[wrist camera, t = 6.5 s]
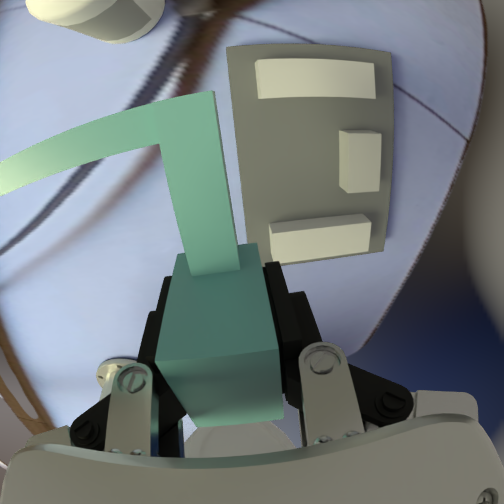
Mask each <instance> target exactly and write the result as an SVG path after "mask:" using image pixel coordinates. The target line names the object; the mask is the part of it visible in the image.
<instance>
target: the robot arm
mask: <svg viewBox="0 0 504 504" xmlns="http://www.w3.org/2000/svg"><path fill="white" fill-rule="evenodd" d="M262 269H263V274H264V279H265V284H266V289H267V293H268V298H269V303H270V308H271V313H272V318H273V323H274V328H275V333H276V338H277V343H278V348H279V359H280V372H281V385H282V394H283V393H285V398H286V401H288V404H290V405H292V406H293V407H295V408H297V409H298V416H299V425H300V436H301V446H302V448H296V449H290V450H284V451H277V452H270V453H262V454H253V455H243V456H230V457H210V458H185V452H184V437H183V421H182V418H183V417H184V416H185V415H186V414H187V412H186V411H185V409H184V408H183V406H182V405H181V403H180V402H179V400H178V399H177V397H176V396H175V394H174V393H173V391H172V389H171V388H170V386H169V385H168V383H167V381H166V380H165V378H164V376H163V375H162V373H161V371H160V370H159V368H158V366H157V365H156V363H155V356H156V351H157V345H158V340H159V335H160V330H161V325H162V320H163V315H164V310H165V306H166V301H167V297H168V292H169V288H170V283H171V279H172V276H166V277H165V278H164V281H163V285H162V288H161V292H160V296H159V300H158V304H157V308H156V311H151V312H149V315H148V318H147V322H146V326H145V330H144V334H143V338H142V342H141V346H140V350H139V354H138V359H137V361H135V360H129V359H111V360H107V361H105V362H103V363H101V365H100V366H99V367H98V370H97V373H96V378H97V381H98V383H99V385H100V386H101V387H102V392H101V396H100V400H99V402H98V403H96V404H95V405H94V406H92V407H91V408H90V409H88V410H87V411H86V412H84V413H83V414H81V415H80V416H79V417H77V418H76V419H75V420H74V421H73V423H72V425H71V427H69V426H67V425H66V426H63V427H60V428H57V429H54V430H51V431H48V432H44V433H41V434H38V435H35V436H32V437H31V438H29V440H28V441H27V443H26V445H25V448H22V449H20V450H19V451H17V452H16V453H15V454H14V455H13V457H12V458H11V460H10V462H9V465H8V468H7V471H6V474H5V478H4V482H3V487H2V492H1V498H0V504H504V468H503V465H502V463H501V461H500V458H499V456H498V454H497V452H496V449H495V447H494V446H493V444H492V442H491V440H490V438H489V437H488V435H487V434H486V432H485V431H484V429H483V428H482V427H481V425H480V424H479V423H478V407H477V402H476V400H475V399H474V397H473V396H471V395H470V394H468V393H464V392H440V391H423V390H418V391H417V392H416V393H414V392H409V391H408V389H407V388H405V387H403V386H401V385H399V384H396V383H394V382H392V381H389V380H387V379H384V378H382V377H379V376H377V375H374V374H372V373H370V372H367V371H365V370H362V369H360V368H358V367H355V366H353V365H350V364H348V363H347V359H346V356H345V354H344V352H343V350H342V349H341V348H340V347H338V346H337V345H335V344H333V343H328V342H323V341H322V338H321V336H320V333H319V330H318V327H317V324H316V321H315V319H314V316H313V313H312V310H311V308H310V305H309V302H308V299H307V297H306V294H305V292H304V291H301V292H294V293H289V292H288V289H287V285H286V282H285V279H284V275H283V272H282V269H281V266H280V262H279V261H273V262H267V263H265V267H262Z"/></svg>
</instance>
